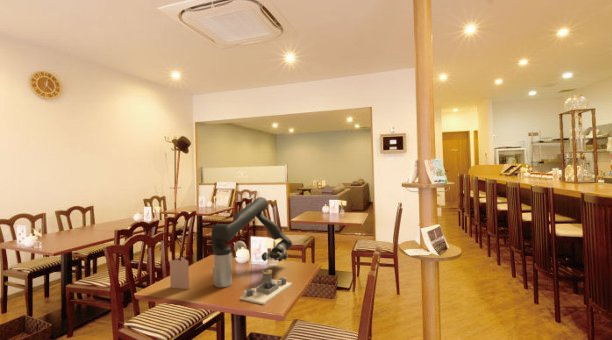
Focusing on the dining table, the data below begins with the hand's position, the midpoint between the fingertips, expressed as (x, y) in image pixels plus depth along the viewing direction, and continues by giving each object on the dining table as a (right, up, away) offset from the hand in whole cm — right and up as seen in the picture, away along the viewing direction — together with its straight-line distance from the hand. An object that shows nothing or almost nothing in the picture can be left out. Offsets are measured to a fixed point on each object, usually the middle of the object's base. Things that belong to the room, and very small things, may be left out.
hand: (271, 259), depth 166 cm
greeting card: (-49, -14, -3) cm, 51 cm away
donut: (-30, -14, +58) cm, 67 cm away
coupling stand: (-1, -13, -12) cm, 17 cm away
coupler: (-1, -12, -11) cm, 17 cm away
